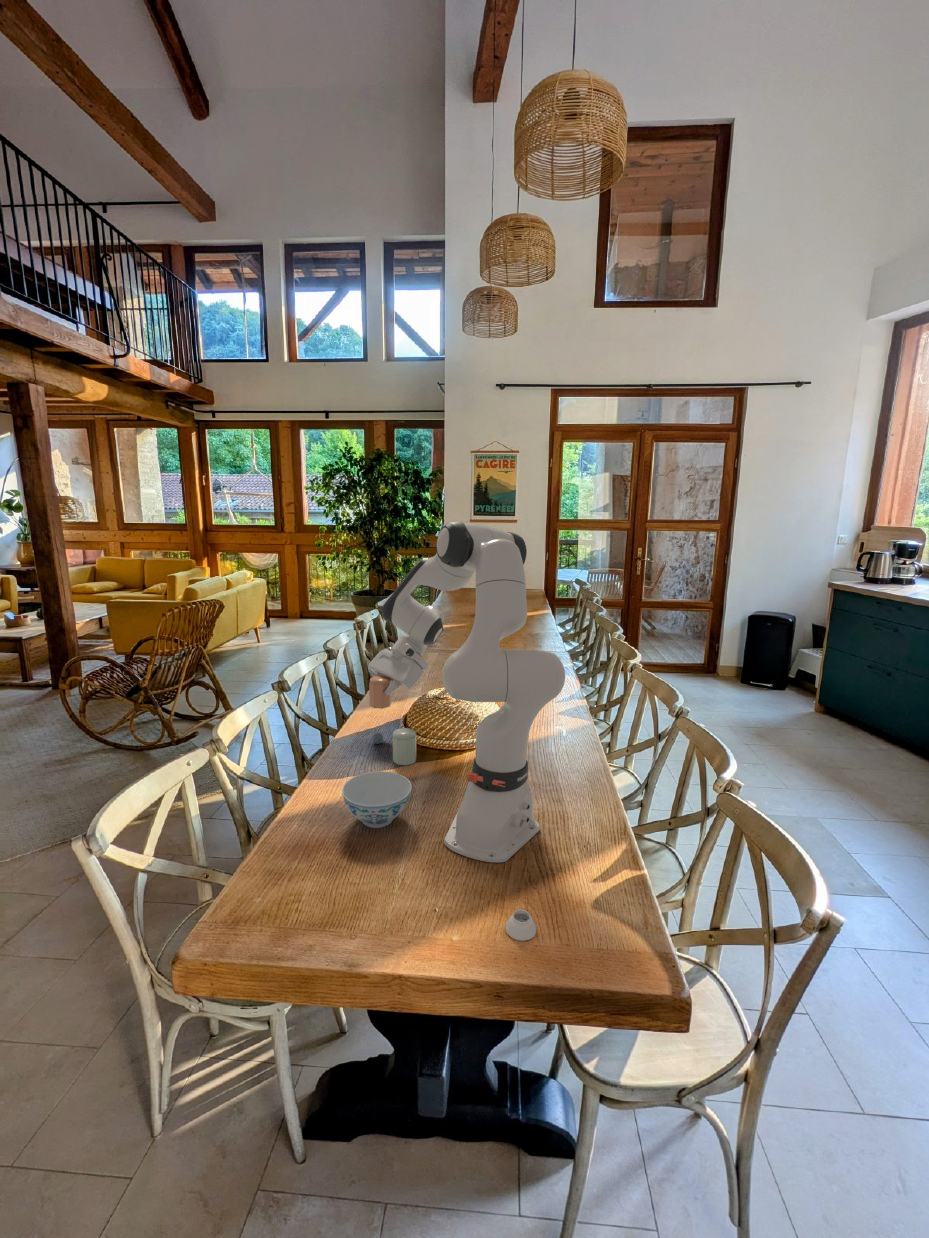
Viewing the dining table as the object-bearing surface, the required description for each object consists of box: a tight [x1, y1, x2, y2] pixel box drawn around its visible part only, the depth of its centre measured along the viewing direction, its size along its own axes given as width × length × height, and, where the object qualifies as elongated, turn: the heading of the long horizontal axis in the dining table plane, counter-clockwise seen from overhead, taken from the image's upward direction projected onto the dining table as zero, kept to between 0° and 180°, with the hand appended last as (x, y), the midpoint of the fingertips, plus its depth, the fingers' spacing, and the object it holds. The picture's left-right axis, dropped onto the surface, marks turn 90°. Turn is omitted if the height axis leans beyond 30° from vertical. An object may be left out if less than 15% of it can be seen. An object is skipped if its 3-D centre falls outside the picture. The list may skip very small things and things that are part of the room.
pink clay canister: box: [368, 676, 392, 710], centre depth 167 cm, size 6×6×8 cm
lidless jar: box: [505, 908, 537, 942], centre depth 93 cm, size 5×3×5 cm
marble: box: [371, 732, 385, 745], centre depth 163 cm, size 3×3×3 cm
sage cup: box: [392, 727, 417, 766], centre depth 152 cm, size 6×6×8 cm
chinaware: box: [341, 770, 413, 829], centre depth 124 cm, size 15×15×8 cm
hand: (378, 690), depth 167 cm, fingers closed on pink clay canister, 6 cm apart
